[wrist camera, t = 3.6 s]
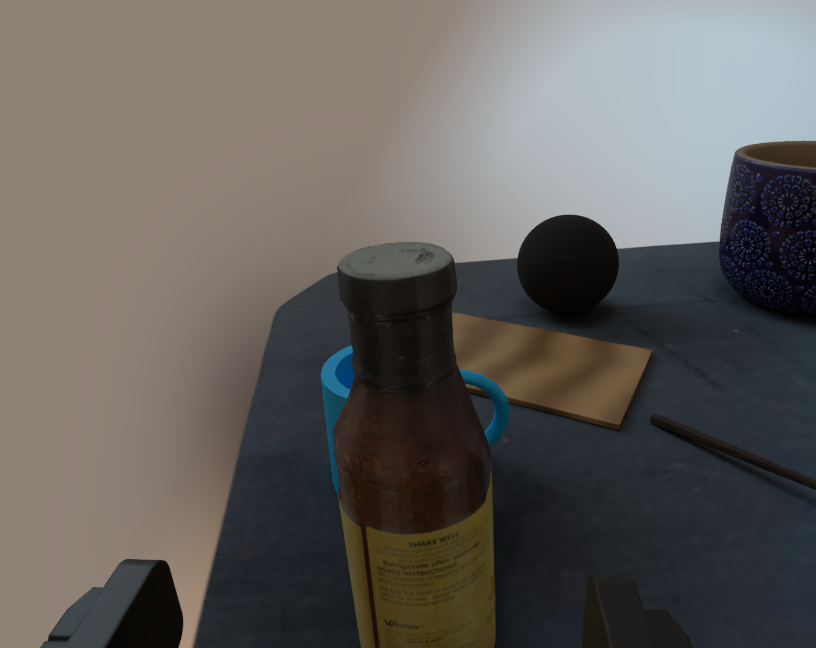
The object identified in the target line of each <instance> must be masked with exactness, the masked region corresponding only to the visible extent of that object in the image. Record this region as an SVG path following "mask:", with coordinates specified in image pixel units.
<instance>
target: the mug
mask: <svg viewBox="0 0 816 648" xmlns="http://www.w3.org/2000/svg"><path fill="white" fill-rule="evenodd" d="M352 357H353V349H352V346H349V347H346V348H344V349H342V350H341V351H339V352H337V353H336V354H334V355H332V356H331V357H330V358H329V359H328V361H327V362H326V363H325V364H324V365H323V369H322V372H321V382H322V390H323V399H324V408H325V417H326V425H327V434H328V443H329V452H330V460H331V469H332V478H333V483H334V487H335V490H336V493H337V495H338V489H339V478H338V470H337V465H336V459H335V456H334V436H333V429H334V425H335V423H336V420H337V418H338V416H339V414H340V411H341V409H342V408H343V406H344V405H345V403H346V401H347V398H348V395H349V392H350V389H351V386H352V383H353V378H354V372H353V368H352V364H351V360H352ZM459 370H460V372H461V375H462V377H463V380H464V382H465V384H469V385H473V386H476V387H478V388H480V389H481V390H483V391H485V392H486V393H487V394H488V395H489V396H490V397H491V399H492V400H493V402H494V407H495V413H494V417H493V421H492V422H491V424H490V425H489V427H488V428H487V429H486V431H485V432H484V433H485V436H486V438H487V440H488V443H489V447H490V446H491V445H493V444H494V443H495V442H496V441H497V440H498V438H499V437H500V436H501V434H502V433H503V431H504V430H505V429H506V426H507V422H508V418H509V415H510V410H509V405H508V400H507V396H506V395H505V394H504V393H503V391H502V390H501V389H500V387H499V386H498V385H497V383H495V382H494V381H492V380H490V379H489V378H487V377H485V376H484V375H482V374H480V373H476V372H472V371H468V370H464V369H459Z"/></svg>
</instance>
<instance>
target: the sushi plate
mask: <svg viewBox="0 0 816 648" xmlns="http://www.w3.org/2000/svg"><path fill="white" fill-rule="evenodd" d="M651 422H652V423H653V424H655V425H657V426H659V427H662V428H664V429H667V430H669V431H672V432H674V433H676V434H679V435H681V436H684V437H686V438H689V439H691V440H693V441H696V442H698V443H701V444H703V445H706V446H708V447H711V448H713V449H715V450H718V451H720V452H723V453H725V454H728V455H730V456H733V457H735V458H738V459H740V460H743V461H745V462H748V463H750V464H753V465H755V466H758V467H760V468H763V469H765V470H768V471H770V472H773V473H775V474H778V475H780V476H783V477H785V478H788V479H790V480H793V481H795V482H798V483H800V484H803V485H805V486H808V487H810V488H813V489H815V490H816V480H814V479H811V478H809V477H807V476H804V475H802V474H799V473H797V472H795V471H792V470H790V469H788V468H785V467H783V466H780V465H778V464H776V463H773V462H771V461H769V460H766V459H764V458H762V457H759V456H757V455H754V454H752V453H750V452H747V451H745V450H743V449H740V448H738V447H735V446H733V445H730V444H728V443H726V442H723V441H721V440H718V439H716V438H714V437H711V436H709V435H706V434H704V433H702V432H699V431H697V430H694V429H692V428H690V427H687V426H685V425H682V424H680V423H677V422H675V421H672V420H670V419H668V418H665V417H663V416H660V415H656V414H654V415H653V416H651Z"/></svg>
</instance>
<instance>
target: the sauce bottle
mask: <svg viewBox="0 0 816 648" xmlns="http://www.w3.org/2000/svg"><path fill="white" fill-rule="evenodd" d="M337 270H338V284H339V292H340V299H341V301H342V302H343V304H344V306H345V308H346V309H347V311H348V316H349V323H350V333H351V340H352V349H353V357H352V360H351V364H352V368H353V372H354V378H353V383H352V386H351V389H350V392H349V395H348V398H347V401H346V403H345V405H344V406H343V408H342V409H341V411H340V414H339V416H338V418H337V420H336V423H335V425H334V429H333V436H334V456H335V459H336V465H337V470H338V478H339V489H338V498H339V505H340V511H341V518H342V525H343V531H344V538H345V545H346V551H347V558H348V565H349V571H350V578H351V584H352V591H353V597H354V604H355V612H356V619H357V625H358V632H359V639H360V645H361V648H494V645H495V634H496V629H495V577H494V535H493V517H494V515H493V498H492V489H493V485H492V484H493V482H492V461H491V451H490V447H489V443H488V440H487V438H486V436H485V433H484V430H483V428H482V425H481V423H480V420H479V418H478V415H477V413H476V410H475V408H474V405H473V403H472V400H471V397H470V395H469V392H468V390H467V387H466V385H465V382H464V380H463V377H462V375H461V372H460V370H459V367H458V365H457V363H456V354H455V351H454V342H453V324H452V310H451V309H452V301H453V298H454V296H455V294H456V290H457V280H456V274H455V262H454V259H453V257H452V255H451V254H450V253H449V252H448V251H446V250H445V249H444V248H442V247H439V246H437V245H434V244H429V243H421V242H399V243H386V244H380V245H374V246H368V247H365V248H361V249H358V250H356V251H354V252H351V253H350V254H348V255H346V256H345V257H344V258H343V259H341V260H340V262H339V265H338V267H337Z"/></svg>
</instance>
